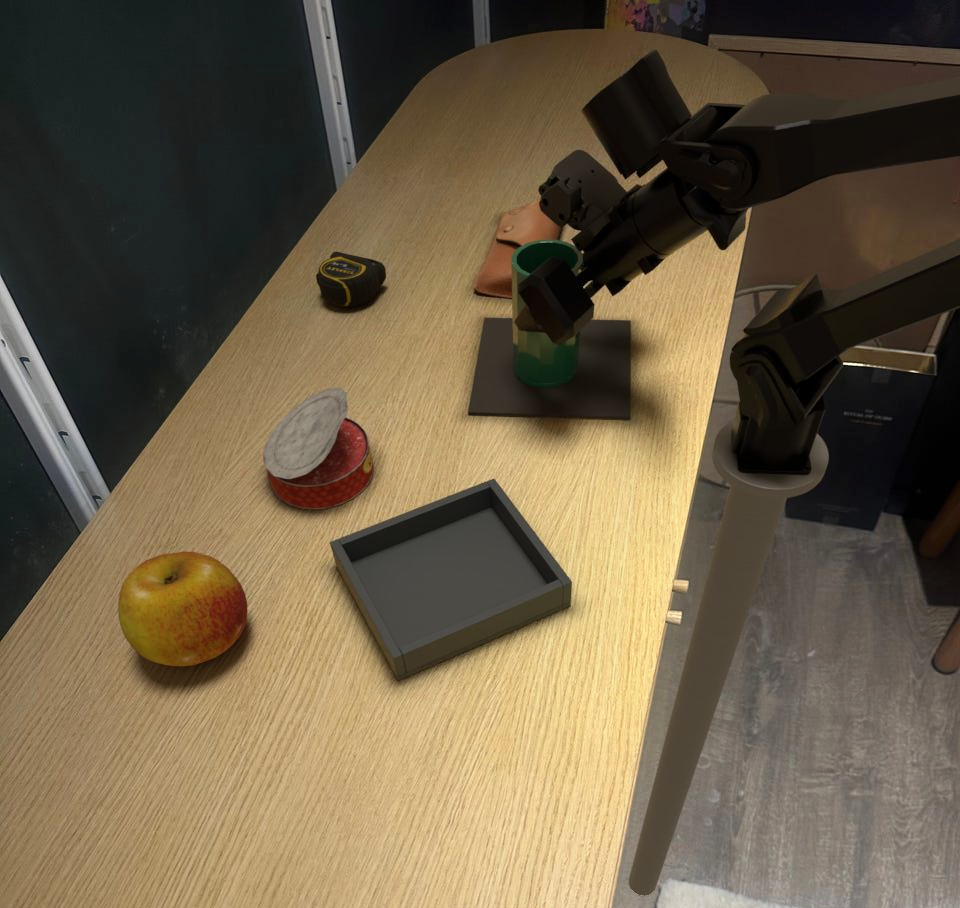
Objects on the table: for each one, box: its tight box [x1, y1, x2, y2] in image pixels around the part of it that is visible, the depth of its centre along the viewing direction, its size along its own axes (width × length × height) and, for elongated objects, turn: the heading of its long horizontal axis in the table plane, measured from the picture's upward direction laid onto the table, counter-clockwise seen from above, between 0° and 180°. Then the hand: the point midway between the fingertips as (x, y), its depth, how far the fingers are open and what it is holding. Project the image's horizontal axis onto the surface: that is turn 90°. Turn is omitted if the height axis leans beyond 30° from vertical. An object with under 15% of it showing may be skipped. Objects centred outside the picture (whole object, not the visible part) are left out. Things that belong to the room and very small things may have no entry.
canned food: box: [262, 386, 375, 510], centre depth 79 cm, size 11×10×10 cm
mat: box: [467, 317, 632, 421], centre depth 89 cm, size 16×16×1 cm
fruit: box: [117, 551, 248, 667], centre depth 67 cm, size 10×9×8 cm
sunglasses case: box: [472, 197, 562, 300], centre depth 100 cm, size 18×7×7 cm, turn 169°
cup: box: [511, 239, 583, 388], centre depth 83 cm, size 7×7×12 cm
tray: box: [329, 478, 573, 682], centre depth 71 cm, size 16×14×3 cm
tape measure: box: [315, 251, 387, 307], centre depth 97 cm, size 7×7×4 cm
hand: (544, 301), depth 83 cm, fingers open, 9 cm apart
